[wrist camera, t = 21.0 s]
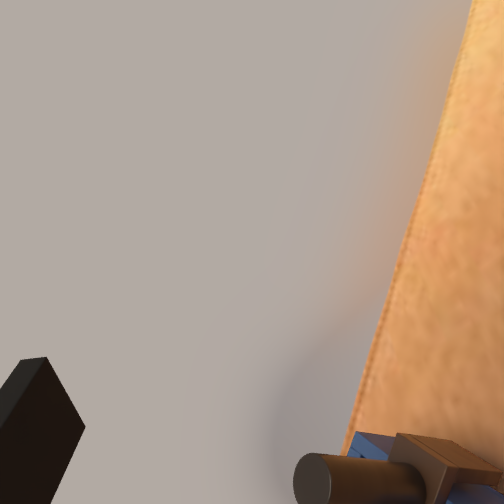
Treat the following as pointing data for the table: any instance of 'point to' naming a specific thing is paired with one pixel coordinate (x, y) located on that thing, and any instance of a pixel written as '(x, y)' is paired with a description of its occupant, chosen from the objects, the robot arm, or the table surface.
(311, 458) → the peg on small stool
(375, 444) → the bin
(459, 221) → the table surface
